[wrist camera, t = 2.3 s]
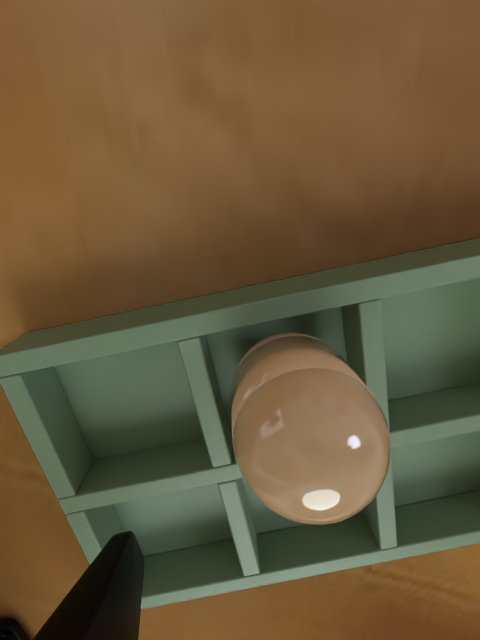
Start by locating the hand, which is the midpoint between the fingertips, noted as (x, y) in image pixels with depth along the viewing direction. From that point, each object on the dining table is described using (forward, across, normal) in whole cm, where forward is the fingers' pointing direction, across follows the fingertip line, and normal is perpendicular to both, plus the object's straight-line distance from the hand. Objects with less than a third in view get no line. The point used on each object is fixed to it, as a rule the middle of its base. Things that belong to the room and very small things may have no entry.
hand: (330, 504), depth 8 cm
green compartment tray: (+7, 0, +3) cm, 8 cm away
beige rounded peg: (+7, 0, 0) cm, 7 cm away
